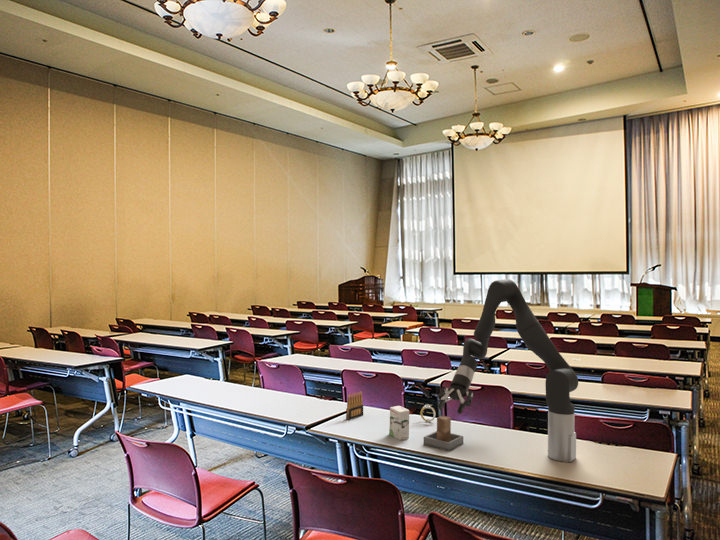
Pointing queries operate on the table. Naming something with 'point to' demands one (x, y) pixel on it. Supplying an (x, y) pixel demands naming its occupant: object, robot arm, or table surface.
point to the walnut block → (444, 428)
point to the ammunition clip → (354, 406)
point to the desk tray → (432, 441)
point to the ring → (425, 408)
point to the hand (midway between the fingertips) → (449, 411)
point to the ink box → (399, 422)
